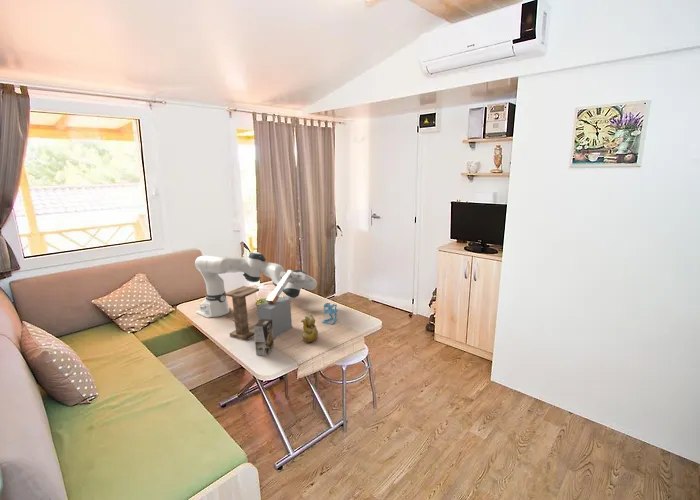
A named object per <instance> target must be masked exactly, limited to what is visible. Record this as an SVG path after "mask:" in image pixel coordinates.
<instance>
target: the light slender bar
mask: <svg viewBox="0 0 700 500" xmlns="http://www.w3.org/2000/svg"><path fill="white" fill-rule="evenodd" d="M293 271H294V270H291V269H287V270H286V271H285V272H286V274H285V275H284V277H283V278H282V279H281V281H280V282H279V284H278V285H277V287H276V286H275V288H274V290H273V291H272V292H271V293H269V295H268V296H267V297H266V299H265V302H266V301H267V302H268V303H269V304H275V303H276V301H277V300H278V298H279V297H280V295H281V294H282V292H283V289H284V288H285V286H286V285H287V283H288V282H289V280H290V279H291V278H292V276H290V273H293ZM293 274H294V273H293Z"/></svg>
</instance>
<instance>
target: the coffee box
mask: <svg viewBox="0 0 700 500" xmlns="http://www.w3.org/2000/svg"><path fill="white" fill-rule="evenodd" d="M253 325H254V334H255V335H254V343H255V355H257V356H269V354H270V353H271V352H272V351H273V349H274V348H275V340H274V339H275V338H273V326H272V319H261V320H260V321H259V322H256V323H255V324H253Z"/></svg>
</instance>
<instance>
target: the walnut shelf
mask: <svg viewBox="0 0 700 500" xmlns="http://www.w3.org/2000/svg"><path fill="white" fill-rule="evenodd" d="M259 291H260V288H258V287H251V286H246V285H243V286H240V287H237V288H235V289H233V290H230V291H228V292H226V293H225V296H226V297H231V298H232V300H231V301H232V308H233V310H232V311H233V316H234V326H235V329H234V330H233V331H231V332H230V333H229V337H231V338H234V339H237V340H241V341H245V342H246V341H247V340H249V339H251V338H253V337H255V334H254V325H255V324H250V323H249V318H248V317H249V316H248V310H247V299H246V297H248V296H250V295H253V294H255V293H257V292H259Z"/></svg>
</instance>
